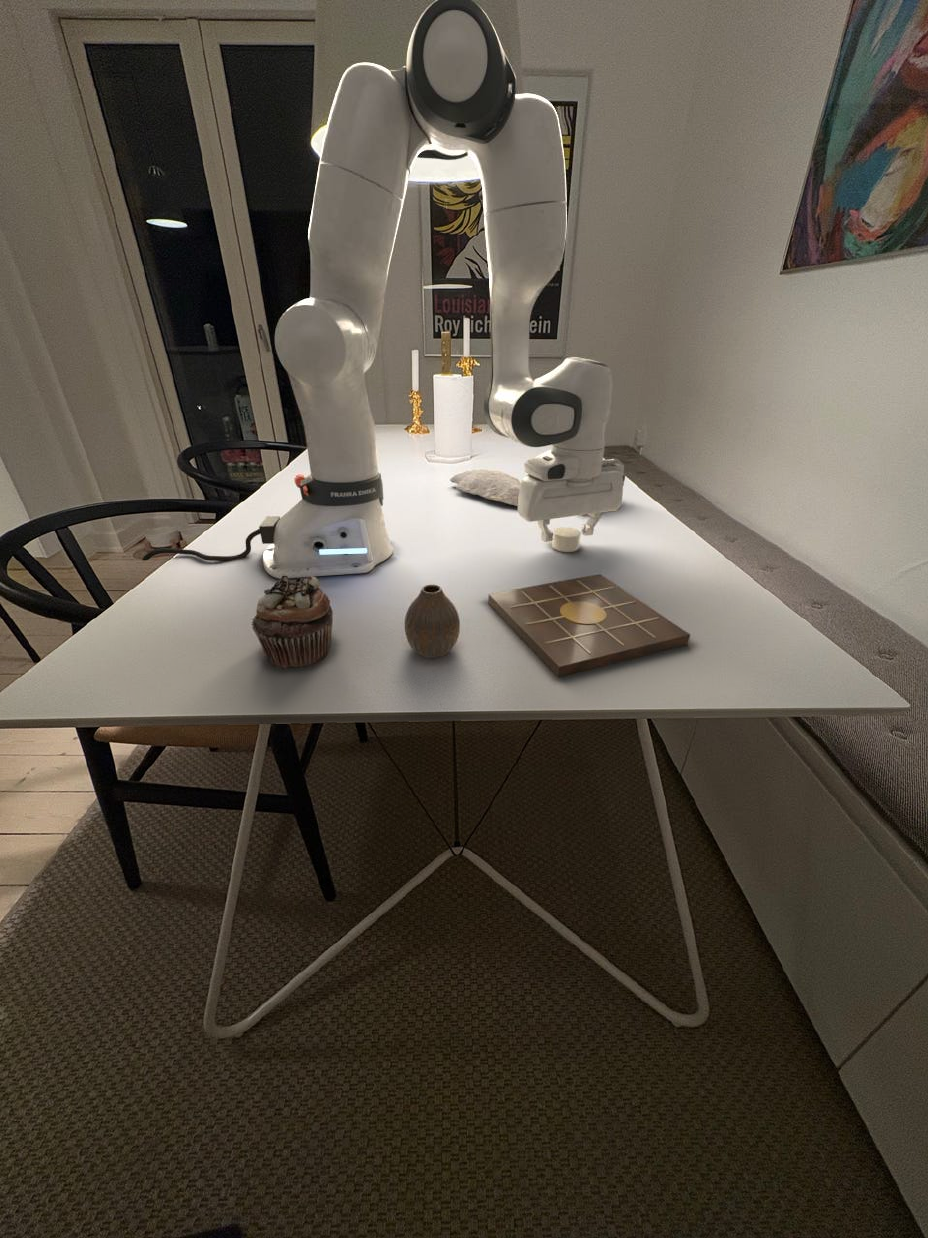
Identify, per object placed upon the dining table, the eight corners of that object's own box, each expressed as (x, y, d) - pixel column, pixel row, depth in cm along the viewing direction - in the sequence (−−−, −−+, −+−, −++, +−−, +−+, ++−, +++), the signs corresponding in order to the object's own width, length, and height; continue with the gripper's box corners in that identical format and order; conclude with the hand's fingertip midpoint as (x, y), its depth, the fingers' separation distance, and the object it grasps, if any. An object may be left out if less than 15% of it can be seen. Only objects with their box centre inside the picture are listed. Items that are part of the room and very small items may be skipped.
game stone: (560, 553, 94) (562, 538, 92) (547, 544, 98) (548, 529, 96) (583, 549, 95) (586, 534, 94) (569, 540, 99) (571, 525, 98)
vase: (416, 670, 62) (413, 606, 57) (399, 641, 67) (395, 581, 63) (468, 657, 64) (469, 596, 60) (447, 631, 70) (447, 572, 65)
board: (558, 677, 61) (559, 666, 60) (488, 602, 77) (488, 593, 76) (687, 644, 68) (690, 633, 67) (598, 582, 83) (600, 573, 83)
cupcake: (337, 627, 70) (328, 560, 65) (336, 668, 62) (326, 594, 57) (264, 634, 68) (249, 565, 63) (253, 676, 60) (235, 602, 55)
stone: (438, 488, 130) (504, 514, 113) (437, 467, 127) (505, 490, 110) (484, 477, 138) (553, 499, 122) (485, 456, 136) (555, 476, 119)
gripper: (614, 454, 94) (603, 525, 101) (516, 462, 88) (511, 538, 95) (636, 461, 89) (623, 536, 96) (534, 471, 83) (527, 551, 90)
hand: (567, 537), depth 95 cm, fingers open, 7 cm apart
